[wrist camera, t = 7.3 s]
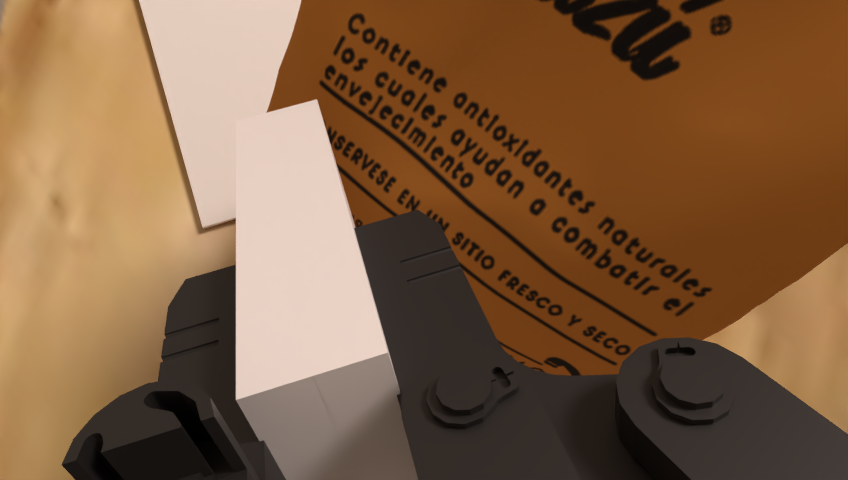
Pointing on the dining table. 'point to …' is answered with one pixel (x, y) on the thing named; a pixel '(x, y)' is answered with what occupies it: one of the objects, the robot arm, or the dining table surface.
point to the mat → (217, 82)
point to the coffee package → (592, 153)
